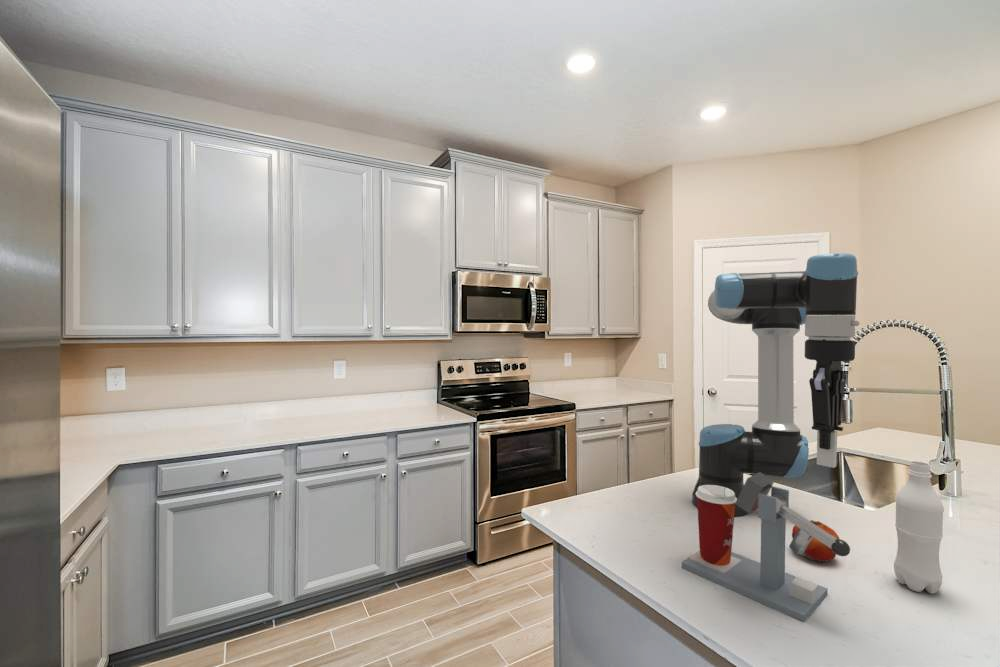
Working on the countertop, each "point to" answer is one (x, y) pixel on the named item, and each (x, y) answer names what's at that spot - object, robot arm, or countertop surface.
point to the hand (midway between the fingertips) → (826, 465)
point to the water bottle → (919, 531)
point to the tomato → (818, 544)
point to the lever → (788, 516)
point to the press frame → (765, 568)
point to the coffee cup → (715, 523)
